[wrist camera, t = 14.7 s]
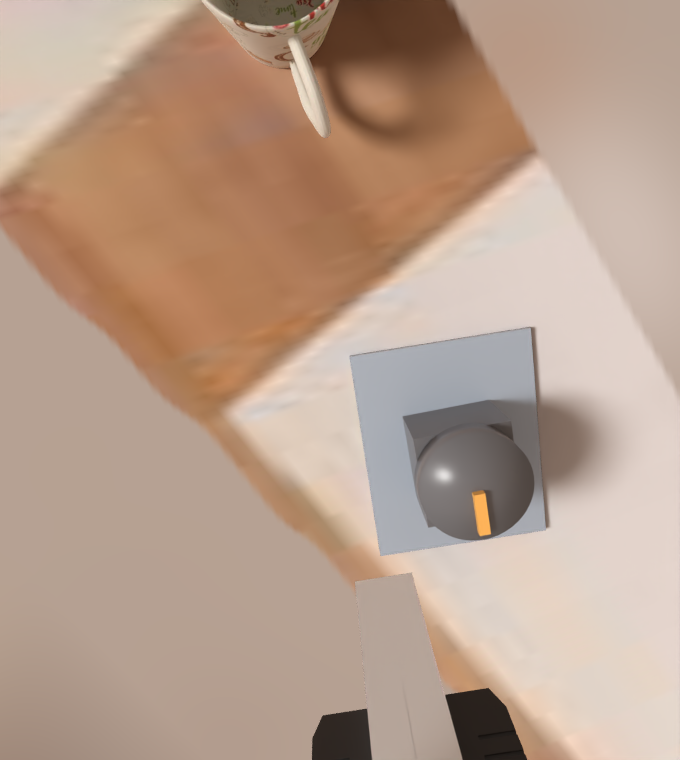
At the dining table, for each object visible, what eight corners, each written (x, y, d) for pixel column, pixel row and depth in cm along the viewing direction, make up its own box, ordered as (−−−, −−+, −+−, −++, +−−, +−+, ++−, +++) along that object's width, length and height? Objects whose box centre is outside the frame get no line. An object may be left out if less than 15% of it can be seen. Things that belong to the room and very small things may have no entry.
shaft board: (349, 355, 40) (353, 370, 35) (528, 327, 40) (557, 338, 35) (380, 553, 44) (387, 591, 39) (544, 527, 43) (571, 562, 39)
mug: (315, -85, 33) (313, -221, 24) (390, 123, 36) (416, 78, 27) (190, -27, 34) (137, -137, 24) (274, 174, 37) (257, 148, 27)
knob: (396, 412, 40) (412, 448, 33) (493, 393, 40) (530, 425, 33) (411, 501, 42) (430, 554, 35) (505, 483, 42) (543, 532, 35)
